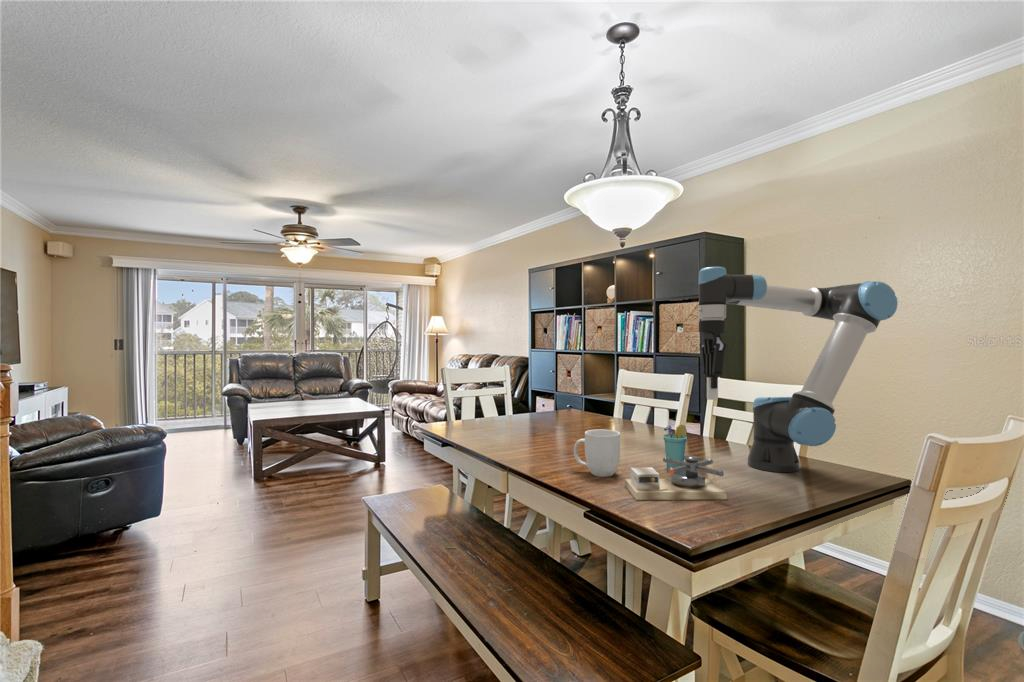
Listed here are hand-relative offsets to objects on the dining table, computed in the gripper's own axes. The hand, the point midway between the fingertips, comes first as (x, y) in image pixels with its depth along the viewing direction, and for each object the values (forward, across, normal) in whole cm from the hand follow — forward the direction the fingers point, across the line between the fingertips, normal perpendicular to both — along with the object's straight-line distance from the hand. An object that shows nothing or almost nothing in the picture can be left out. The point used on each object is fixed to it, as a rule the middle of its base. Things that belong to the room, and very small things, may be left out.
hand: (712, 399), depth 144 cm
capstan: (+22, +10, -10) cm, 26 cm away
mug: (+25, -9, -32) cm, 41 cm away
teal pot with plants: (+25, -13, -7) cm, 29 cm away
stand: (+24, +10, -15) cm, 30 cm away
